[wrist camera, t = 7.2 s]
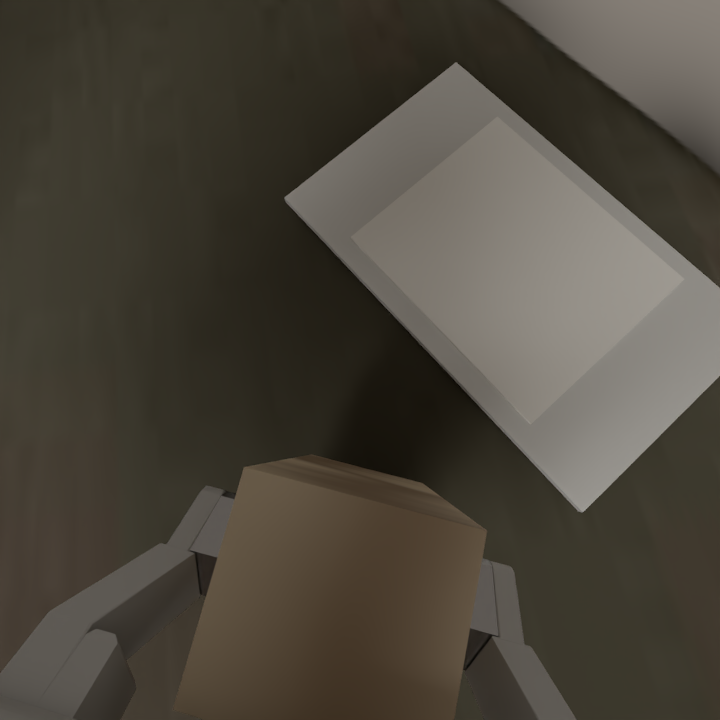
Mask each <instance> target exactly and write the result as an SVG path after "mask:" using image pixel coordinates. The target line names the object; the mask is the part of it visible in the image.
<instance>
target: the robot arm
mask: <svg viewBox="0 0 720 720" xmlns="http://www.w3.org/2000/svg"><path fill="white" fill-rule="evenodd" d="M235 496H236V493H232V492H229V491H226V490H223V489H219V488H215V487H211V486H207V485H206V486H205V487H204V488H203V489H202V490H201V491H200V493H199V494H198V496H197V497H196V499H195V500H194V502H193V504H192V505H191V507H190V508H189V510H188V511H187V513H186V514H185V516H184V518H183V519H182V521H181V522H180V524H179V525H178V527H177V528H176V530H175V532H174V533H173V535H172V536H171V538H170V539H169V541H168V543H167V544H162V543H160V544H158V545H156V546H155V547H153V548H152V549H150V550H148V551H147V552H145V553H143V554H142V555H140V556H139V557H137V558H135V559H134V560H132V561H130V562H129V563H127V564H126V565H124V566H122V567H121V568H119V569H117V570H116V571H114V572H113V573H111V574H109V575H108V576H106V577H104V578H103V579H101V580H100V581H98V582H96V583H95V584H93V585H91V586H90V587H88V588H87V589H85V590H83V591H82V592H80V593H78V594H77V595H75V596H74V597H72V598H70V599H69V600H67V601H65V602H64V603H62V604H61V605H59V606H57V607H56V608H54V609H52V610H51V611H49V612H48V613H47V615H46V616H45V617H44V619H43V620H42V621H41V622H40V624H39V625H38V626H37V627H36V629H35V630H34V631H33V632H32V634H31V635H30V636H29V638H28V639H27V640H26V641H25V643H24V644H23V645H22V646H21V648H20V649H19V650H18V652H17V653H16V654H15V655H14V657H13V658H12V659H11V660H10V662H9V663H8V664H7V665H6V667H5V668H4V669H3V671H2V672H1V673H0V720H120V719H121V718H122V716H123V714H124V712H125V710H126V708H127V706H128V704H129V702H130V700H131V698H132V696H133V694H134V692H135V691H136V684H135V680H134V677H133V675H132V673H131V670H130V668H129V666H128V663H127V661H126V660H127V659H128V658H130V657H131V656H132V655H133V654H134V653H135V652H137V651H138V650H139V649H140V648H141V647H142V646H144V645H145V644H146V643H147V642H148V641H150V640H151V639H152V638H153V637H154V636H155V635H157V634H158V633H159V632H160V631H161V630H162V629H164V628H165V627H166V626H167V625H168V624H169V623H171V622H172V621H173V620H174V619H175V618H176V617H178V616H179V615H180V614H181V613H182V612H183V611H185V610H186V609H187V608H188V607H189V606H190V605H192V604H193V603H194V602H195V601H196V600H197V599H199V598H200V595H204V596H206V595H207V592H208V588H209V585H210V581H211V578H212V575H213V571H214V568H215V564H216V561H217V558H218V554H219V551H220V547H221V544H222V541H223V537H224V534H225V530H226V527H227V524H228V520H229V517H230V513H231V510H232V507H233V503H234V500H235ZM463 670H465V675H466V677H467V680H468V682H469V684H470V687H471V689H472V692H473V694H474V696H475V699H476V701H477V704H478V706H479V708H480V711H481V713H482V715H483V718H484V720H576V718H575V716H574V715H573V713H572V712H571V710H570V708H569V707H568V705H567V704H566V702H565V700H564V699H563V697H562V696H561V694H560V692H559V691H558V689H557V687H556V686H555V684H554V683H553V681H552V679H551V678H550V676H549V675H548V673H547V671H546V670H545V668H544V667H543V665H542V663H541V662H540V660H539V659H538V657H537V655H536V654H535V652H534V651H533V649H532V647H530V646H527V645H524V638H523V631H522V623H521V616H520V609H519V602H518V595H517V588H516V581H515V573H514V571H513V569H512V567H510V566H508V565H504V564H500V563H496V562H492V561H489V560H487V559H483V558H482V563H481V568H480V574H479V580H478V586H477V591H476V597H475V603H474V608H473V614H472V620H471V626H470V631H469V637H468V643H467V648H466V654H465V660H464V666H463Z"/></svg>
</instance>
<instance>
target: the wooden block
mask: <svg viewBox="0 0 720 720" xmlns="http://www.w3.org/2000/svg"><path fill="white" fill-rule="evenodd" d="M486 534H487V530H485V529H484V528H483V527H481V526H480V525H479V524H477V523H476V522H475V521H473V520H472V519H470V518H469V517H468V516H466V515H465V514H464V513H462V512H461V511H460V510H458V509H457V508H455V507H454V506H453V505H451V504H450V503H449V502H447V501H446V500H445V499H443V498H442V497H441V496H439V495H438V494H436V493H435V492H434V491H432V490H431V489H430V488H428V487H427V486H426V485H424V484H423V483H421V482H417V481H413V480H409V479H405V478H401V477H397V476H393V475H389V474H385V473H382V472H378V471H374V470H370V469H366V468H362V467H358V466H354V465H350V464H347V463H343V462H339V461H335V460H331V459H327V458H323V457H319V456H315V455H306V456H301V457H296V458H290V459H285V460H280V461H274V462H269V463H263V464H258V465H253V466H247V467H244V469H243V473H242V476H241V479H240V483H239V486H238V490H237V493H236V496H235V500H234V503H233V507H232V510H231V513H230V517H229V520H228V524H227V527H226V530H225V534H224V537H223V541H222V544H221V547H220V551H219V554H218V558H217V561H216V564H215V568H214V571H213V575H212V578H211V581H210V585H209V588H208V592H207V595H206V598H205V602H204V605H203V609H202V612H201V616H200V619H199V622H198V626H197V629H196V633H195V636H194V639H193V643H192V646H191V650H190V653H189V656H188V660H187V663H186V667H185V670H184V673H183V677H182V680H181V684H180V687H179V690H178V694H177V697H176V701H175V704H174V707H173V710H174V711H178V712H181V713H184V714H187V715H191V716H194V717H197V718H200V719H204V720H454V717H455V711H456V705H457V700H458V694H459V688H460V683H461V677H462V671H463V666H464V660H465V654H466V648H467V643H468V637H469V631H470V626H471V620H472V614H473V608H474V603H475V597H476V591H477V586H478V580H479V574H480V568H481V563H482V557H483V551H484V546H485V540H486Z"/></svg>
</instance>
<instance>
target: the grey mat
mask: <svg viewBox="0 0 720 720" xmlns="http://www.w3.org/2000/svg"><path fill="white" fill-rule="evenodd" d="M285 201H286V203H287V204H288V205H289V206H290V207H291V208H292V209H293V210H294V211H295V212H296V214H297V215H298V216H299V217H300V218H301V219H302V220H303V221H304V222H305V223H306V224H307V225H308V226H309V227H310V228H311V229H312V230H313V232H314V233H315V234H316V235H317V236H318V237H319V238H320V239H321V240H322V241H323V242H324V243H325V244H326V245H327V246H328V247H329V248H330V249H331V251H332V252H333V253H334V254H335V255H336V256H337V257H338V258H339V259H340V260H341V261H342V262H343V263H344V264H345V265H346V266H347V267H348V268H349V270H350V271H351V272H352V273H353V274H354V275H355V276H356V277H357V278H358V279H359V280H360V281H361V282H362V283H363V284H364V285H365V286H366V287H367V289H368V290H369V291H370V292H371V293H372V294H373V295H374V296H375V297H376V298H377V299H378V300H379V301H380V302H381V303H382V304H383V305H384V307H385V308H386V309H387V310H388V311H389V312H390V313H391V314H392V315H393V316H394V317H395V318H396V319H397V320H398V321H399V322H400V323H401V324H402V326H403V327H404V328H405V329H406V330H407V331H408V332H409V333H410V334H411V335H412V336H413V337H414V338H415V339H416V340H417V341H418V342H419V343H420V345H421V346H422V347H423V348H424V349H425V350H426V351H427V352H428V353H429V354H430V355H431V356H432V357H433V358H434V359H435V360H436V361H437V362H438V364H439V365H440V366H441V367H442V368H443V369H444V370H445V371H446V372H447V373H448V374H449V375H450V376H451V377H452V378H453V379H454V380H455V382H456V383H457V384H458V385H459V386H460V387H461V388H462V389H463V390H464V391H465V392H466V393H467V394H468V395H469V396H470V397H471V398H472V399H473V401H474V402H475V403H476V404H477V405H478V406H479V407H480V408H481V409H482V410H483V411H484V412H485V413H486V414H487V415H488V416H489V417H490V418H491V420H492V421H493V422H494V423H495V424H496V425H497V426H498V427H499V428H500V429H501V430H502V431H503V432H504V433H505V434H506V435H507V436H508V437H509V439H510V440H511V441H512V442H513V443H514V444H515V445H516V446H517V447H518V448H519V449H520V450H521V451H522V452H523V453H524V454H525V455H526V457H527V458H528V459H529V460H530V461H531V462H532V463H533V464H534V465H535V466H536V467H537V468H538V469H539V470H540V471H541V472H542V473H543V474H544V476H545V477H546V478H547V479H548V480H549V481H550V482H551V483H552V484H553V485H554V486H555V487H556V488H557V489H558V490H559V491H560V492H561V493H562V495H563V496H564V497H565V498H566V499H567V500H568V501H569V502H570V503H571V504H572V505H573V506H574V507H575V508H576V509H577V510H578V511H580V512H584V511H585V510H586V509H587V508H588V507H589V506H590V505H591V504H592V503H593V502H594V501H595V500H596V499H597V498H598V497H599V496H600V495H601V494H602V493H603V492H604V491H605V490H606V489H607V488H608V487H609V486H610V485H611V484H612V483H613V482H614V481H615V480H616V479H617V478H618V477H619V476H620V475H621V474H622V473H623V472H624V471H625V470H626V469H627V468H628V467H629V466H630V465H631V464H632V463H633V462H634V461H635V460H636V459H637V458H638V457H639V456H640V455H641V454H642V453H643V452H644V451H645V450H646V449H647V448H648V447H649V446H650V445H651V444H652V443H653V442H654V441H655V440H656V439H657V438H658V437H659V436H660V435H661V434H662V433H663V432H664V431H665V430H666V429H667V428H668V427H669V426H670V425H671V424H672V423H673V422H674V421H675V420H676V419H677V418H678V417H679V416H680V415H681V414H682V413H683V412H684V411H685V410H686V409H687V408H688V407H689V406H690V405H691V404H692V403H693V402H694V401H695V400H696V399H697V398H698V397H699V396H700V395H701V394H702V393H703V392H704V391H705V390H706V389H707V388H708V387H709V386H710V385H711V384H712V383H713V382H714V381H715V380H716V379H717V378H718V377H719V376H720V288H719V287H718V286H717V285H716V284H715V283H713V282H712V281H711V280H710V279H709V278H708V277H706V276H705V275H704V274H703V273H702V272H701V271H699V270H698V269H697V268H696V267H695V266H694V265H692V264H691V263H690V262H689V261H688V260H687V259H685V258H684V257H683V256H682V255H681V254H680V253H678V252H677V251H676V250H675V249H674V248H673V247H671V246H670V245H669V244H668V243H667V242H666V241H664V240H663V239H662V238H661V237H660V236H659V235H657V234H656V233H655V232H654V231H653V230H652V229H650V228H649V227H648V226H647V225H646V224H645V223H643V222H642V221H641V220H640V219H639V218H638V217H636V216H635V215H634V214H633V213H632V212H630V211H629V210H628V209H627V208H626V207H625V206H623V205H622V204H621V203H620V202H619V201H618V200H616V199H615V198H614V197H613V196H612V195H611V194H609V193H608V192H607V191H606V190H605V189H604V188H602V187H601V186H600V185H599V184H598V183H597V182H595V181H594V180H593V179H592V178H591V177H590V176H588V175H587V174H586V173H585V172H584V171H583V170H581V169H580V168H579V167H578V166H577V165H576V164H574V163H573V162H572V161H571V160H570V159H569V158H567V157H566V156H565V155H564V154H563V153H562V152H560V151H559V150H558V149H557V148H556V147H555V146H553V145H552V144H551V143H550V142H549V141H548V140H546V139H545V138H544V137H543V136H542V135H541V134H539V133H538V132H537V131H536V130H535V129H534V128H532V127H531V126H530V125H529V124H528V123H527V122H525V121H524V120H523V119H522V118H521V117H520V116H518V115H517V114H516V113H515V112H514V111H513V110H511V109H510V108H509V107H508V106H507V105H506V104H504V103H503V102H502V101H501V100H500V99H499V98H497V97H496V96H495V95H494V94H493V93H492V92H490V91H489V90H488V89H487V88H486V87H485V86H483V85H482V84H481V83H480V82H479V81H478V80H476V79H475V78H474V77H473V76H472V75H471V74H469V73H468V72H467V71H466V70H465V69H464V68H462V67H461V66H460V65H459V64H458V63H457V62H456V63H454V64H453V65H452V66H451V67H449V68H448V69H447V70H446V71H444V72H443V73H442V74H440V75H439V76H438V77H437V78H435V79H434V80H433V81H432V82H430V83H429V84H428V85H427V86H425V87H424V88H423V89H421V90H420V91H419V92H418V93H416V94H415V95H414V96H413V97H411V98H410V99H409V100H408V101H406V102H405V103H404V104H402V105H401V106H400V107H399V108H397V109H396V110H395V111H394V112H392V113H391V114H390V115H389V116H387V117H386V118H385V119H383V120H382V121H381V122H380V123H378V124H377V125H376V126H375V127H373V128H372V129H371V130H370V131H368V132H367V133H366V134H364V135H363V136H362V137H361V138H359V139H358V140H357V141H356V142H354V143H353V144H352V145H351V146H349V147H348V148H347V149H345V150H344V151H343V152H342V153H340V154H339V155H338V156H337V157H335V158H334V159H333V160H331V161H330V162H329V163H328V164H326V165H325V166H324V167H323V168H321V169H320V170H319V171H318V172H316V173H315V174H314V175H312V176H311V177H310V178H309V179H307V180H306V181H305V182H304V183H302V184H301V185H300V186H299V187H297V188H296V189H295V190H293V191H292V192H291V193H290V194H288V195H287V196H286V197H285Z"/></svg>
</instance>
